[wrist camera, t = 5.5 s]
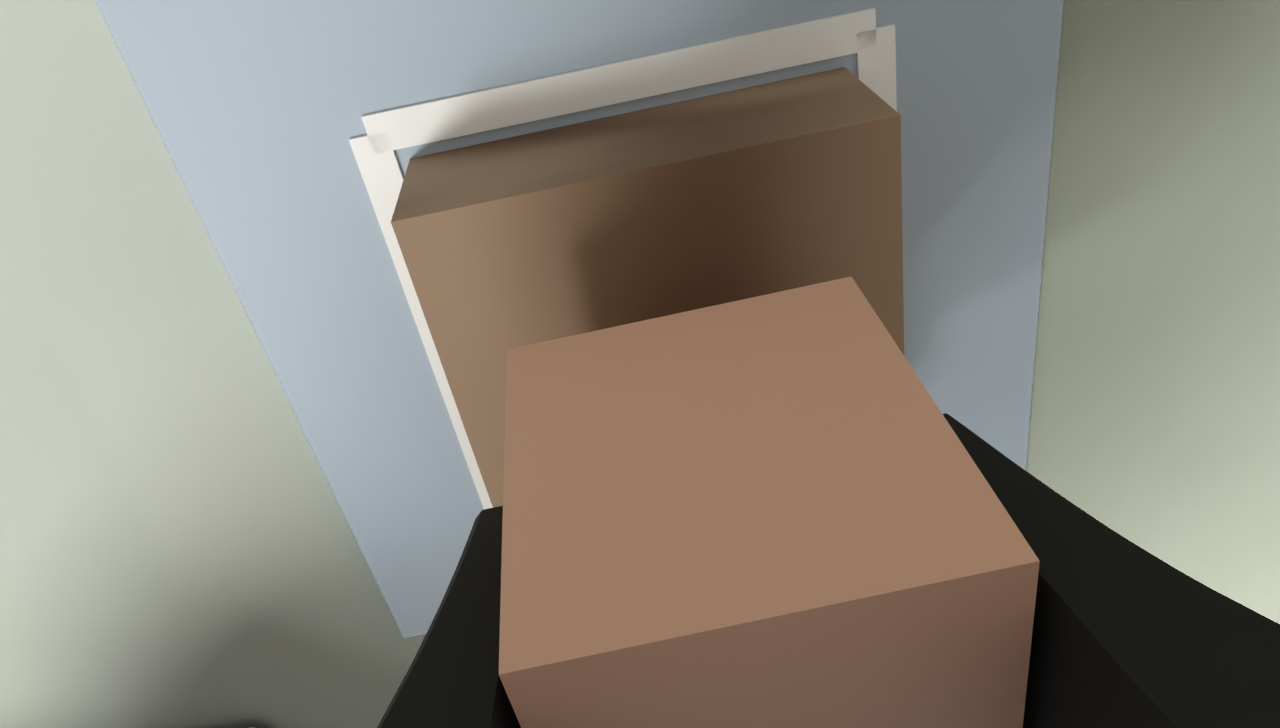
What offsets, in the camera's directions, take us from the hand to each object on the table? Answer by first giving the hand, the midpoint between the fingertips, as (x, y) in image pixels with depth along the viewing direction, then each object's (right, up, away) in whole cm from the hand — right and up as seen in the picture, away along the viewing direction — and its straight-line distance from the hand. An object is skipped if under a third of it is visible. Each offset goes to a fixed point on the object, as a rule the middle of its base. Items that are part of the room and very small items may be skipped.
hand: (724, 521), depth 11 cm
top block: (0, +1, +1) cm, 2 cm away
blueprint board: (-1, +3, +5) cm, 6 cm away
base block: (-1, +3, +5) cm, 6 cm away
